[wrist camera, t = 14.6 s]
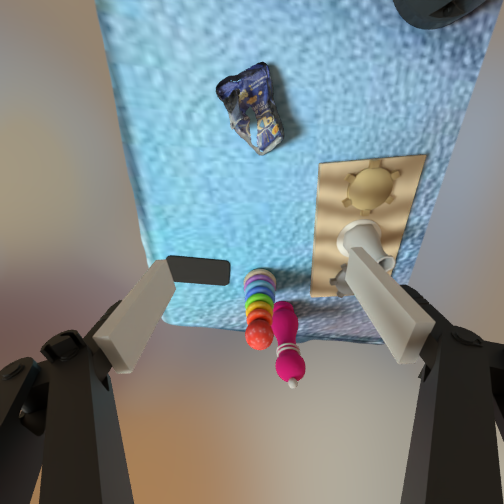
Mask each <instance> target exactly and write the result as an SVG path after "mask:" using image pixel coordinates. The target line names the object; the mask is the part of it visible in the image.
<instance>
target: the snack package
mask: <svg viewBox="0 0 504 504" xmlns="http://www.w3.org/2000/svg"><path fill="white" fill-rule="evenodd" d="M240 79H241V81H239V82H237V81H238V80H240ZM230 80H232V81H230ZM233 81H236V82H233ZM216 94H217V96H218V97H219V99H220V100H221V101H222V102H223V103H224V105H225V107H226V109H227V111H228V114H229V118H230V126H231V129H232V130H233V129H235V131H236V132H237V134H238V135H239V136H240V137H241V138H243V139H244V140H245V141H246V142H247V143H248V144H249V145H250V146H251V147H252V148H253V149H254V150H255V151H256V153H257V154H258V155H264V154H265V153H267V152H268V151H271V150H272V149H273V148H274V147H275V146H276V145H277V144H279V143H280V142H281V141H282V140H283V139H284V129H283V126H282V122H281V120H280V118H279V115H278V112H277V108H276V106H275V102H274V99H273V85H272V80H271V77H270V71H269V68H268V66H267V64H266V63H265V62H260V63H257V64H256V65H254V66H252V67H251V68H248V69H246V71H245V70H244V71H243V72H241V73H239V74H238V75H235V76H228V77H226V78H225V79H223V80H222V81H220V82H219V84H218V85H217V87H216ZM249 106H251V107H252V109H253V111H254V112H255V114H256V118H257V124H258V125H257V126H258V127H257V128H258V130H257V131H258V133H257V145H258V147H255V146H253V145H252V143H251V137H250V136H251V135H250V129H249V123H250V118H249V117H248V116H247V115H246V114H245V112H246V110H247V109H248V108H249ZM260 150H261V151H263V152H260Z"/></svg>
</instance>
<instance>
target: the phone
mask: <svg viewBox="0 0 504 504" xmlns="http://www.w3.org/2000/svg"><path fill="white" fill-rule="evenodd" d="M166 260H167V263H168V266H169V269H170V272H171V275H172V278H173V281H174V282H184V283H197V284H209V285H222V286H225V285H228V283H229V270H230V264H229V262H228V261H226V260H216V259H205V258H194V257H184V256H172V255H170V256H168V257H167V258H166Z"/></svg>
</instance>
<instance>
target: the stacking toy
mask: <svg viewBox="0 0 504 504" xmlns="http://www.w3.org/2000/svg"><path fill="white" fill-rule="evenodd" d="M244 291H245V302H246V303H245V308H246V316H247V324H248V327H247V329H246V332H245V336H246V341H247V343H248V344H249V346H251V347H252V348H254V349H256V350H263V349H266V348H267V347H269V346H270V344H271V343H272V341H273V337H274V333H273V329H272V327H271V325H272V323H273V319H272V316H273V308H274V302H275V291H276V279H275V277H274V275H273V274H272V273H271V272H269V271H267V270H265V269H255V270H252V271H251V272H249V273H248V274H247V275H246V277H245V279H244Z"/></svg>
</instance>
